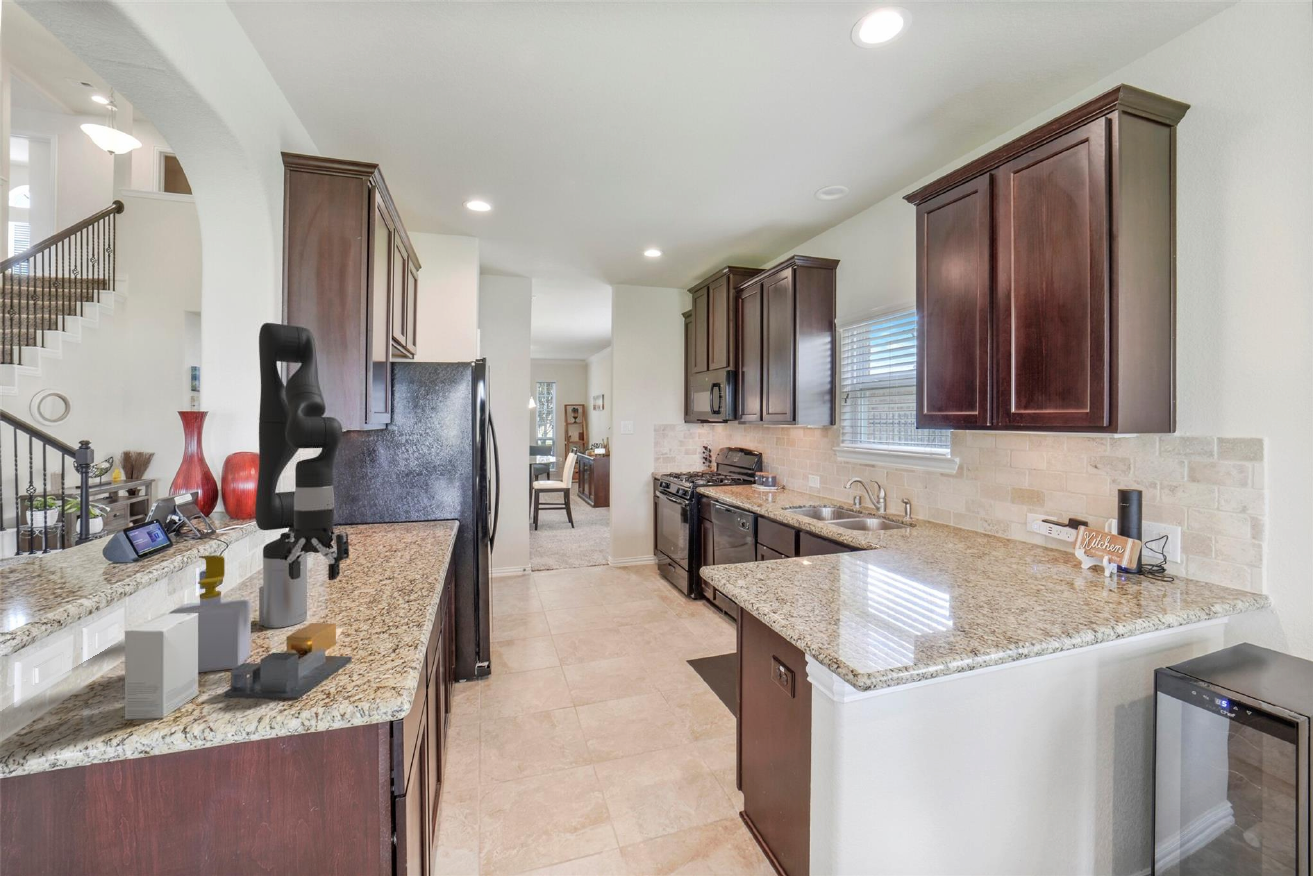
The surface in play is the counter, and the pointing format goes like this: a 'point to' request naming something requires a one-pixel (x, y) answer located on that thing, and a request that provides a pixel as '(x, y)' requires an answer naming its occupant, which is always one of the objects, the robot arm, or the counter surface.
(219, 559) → the soap bottle
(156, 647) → the skincare box
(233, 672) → the stand
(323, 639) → the block
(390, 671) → the counter surface
